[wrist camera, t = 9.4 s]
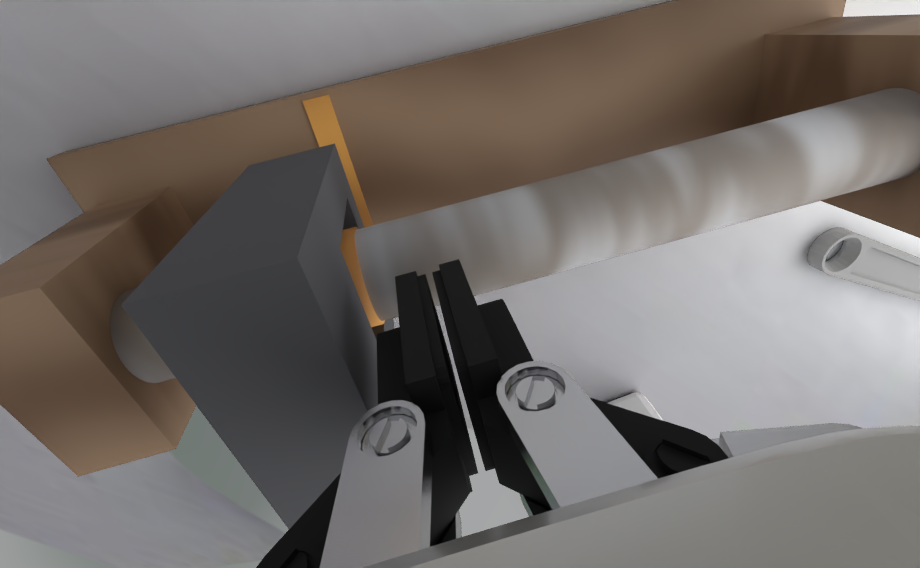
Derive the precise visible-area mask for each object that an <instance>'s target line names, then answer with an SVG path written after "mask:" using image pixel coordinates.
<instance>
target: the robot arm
mask: <svg viewBox="0 0 920 568" xmlns="http://www.w3.org/2000/svg"><path fill="white" fill-rule="evenodd" d="M439 268H440V270H438V271H435V272H432V275H433V278H434V282H435V286H436V290H437V294H438V298H439V302H440V306H441V310H442V314H443V318H444V322H445V326H446V329H447V333H448V337H449V341H450V345H451V349H452V353H453V357H454V361H455V365H456V368H457V372H458V376H459V379H460V383H461V386H462V390H463V393H464V397H465V400H466V404H467V407H468V411H469V414H470V418H471V421H472V425H473V428H474V432H475V436H476V439H477V442H478V446H479V449H480V453H481V456H482V460H483V464H484V467H485V470H486V471H487V470H490V469H494V468H495V470H496V473H497V477H498V480H499V483H500V484H502V485H504V486H506V487H508V488H510V489H512V490H514V491H516V492H518V493H520V497H521V500H522V503H523V505H524V507H525V509H526V511H527V513H528V515H529V517H527V518H524V519H521V520H517V521H514V522H511V523H507V524H504V525H501V526H498V527H494V528H491V529H487V530H484V531H481V532H478V533H474V534H471V535H468V536H464V537H462V535H461V534H462V532H461V518H460V513H459V509H460V507H461V505H462V504H463V502H464V501H465V499H466V498H467V496H468V494H469V493H470V492H472V487H471V483H470V478H469V476H470V475H473V474H477V473H478V471H477V467H476V463H475V458H474V454H473V450H472V446H471V442H470V438H469V434H468V430H467V426H466V421H465V417H464V413H463V409H462V405H461V401H460V397H459V393H458V389H457V384H456V380H455V376H454V372H453V368H452V364H451V360H450V357H449V353H448V350H447V346H446V343H445V339H444V336H443V332H442V329H441V326H440V322H439V319H438V315H437V312H436V308H435V305H434V302H433V298H432V295H431V291H430V288H429V284H428V281H427V278H426V274H424V275H420V276H418V275H417V273H416V271H413V272H410V273H406V274H402V275H399V276H395V284H396V294H397V304H398V314H399V325H400V327H399V328H395V329H391V330H388V331H384V332H381V333H378V334H377V387H378V405H377V406H375V407H373V408H371V409H370V410H368V411H367V412H366V413H365V414H364V415H362V416H361V417H360V418H359V420H358V421H357V422H356V424H355V425H354V426H353V429H352V431H351V434H350V436H349V441H348V445H347V450H346V454H345V458H344V463H343V467H342V472H341V473H340V474H339V475H338V476H337V477H336V478H335V480H334V481H333V482H332V483H331V484H330V485H329V486H328V487H327V488H326V489H325V491H324V492H323V493H322V494H321V495H320V496H319V497H318V498H317V499H316V500H315V502H314V503H313V504H312V505H311V506H310V507H309V508H308V509H307V510H306V512H305V513H304V514H303V515H302V516H301V517H300V518H299V519H298V520H297V521H296V523H295V524H294V525H293V526H292V527H291V528H290V529H289V530H288V531H287V532H286V534H285V535H284V536H283V537H282V538H281V539H280V540H279V541H278V542H277V543H276V545H275V546H274V547H273V548H272V549H271V550H270V551H269V552H268V553H267V554H266V556H265V557H264V558H263V559H262V561H261V562H260V563H259V565H258V566H257V567H256V568H920V426H914V425H906V426H889V427H872V428H861V427H857V426H854V425H850V424H837V423H828V424H815V425H803V426H790V427H777V428H764V429H751V430H739V431H726V432H720V438H715V439H709V438H708V437H707V436H705V435H702V434H700V433H698V432H696V431H693V430H691V429H688V428H684V427H681V426H678V425H675V424H672V423H669V422H665V421H662V420H659V419H656V418H653V417H649V416H646V415H643V414H640V413H637V412H634V411H630V410H627V409H624V408H621V407H618V406H615V405H611V404H608V403H605V402H602V401H599V400H596V399H592V398H589V397H588V395H587V394H586V393H585V392H584V391H583V390H582V388H581V387H580V386H579V385H578V384H577V383H576V381H575V380H574V379H573V378H572V377H571V375H570V374H569V373H568V372H566V371H565V370H564V369H563V368H562V367H560V366H558V365H555V364H553V363H550V362H544V361H533V359H532V357H531V355H530V353H529V351H528V349H527V347H526V345H525V343H524V341H523V339H522V337H521V335H520V333H519V331H518V329H517V326H516V324H515V322H514V320H513V318H512V316H511V314H510V312H509V310H508V308H507V306H506V304H505V302H504V301H503V299H500V300H496V301H492V302H489V303H485V304H482V305H478V306H477V304H476V301H475V298H474V296H473V293H472V291H471V288H470V286H469V283H468V281H467V278H466V275H465V273H464V270H463V268H462V265H461V263H460V260H459V259H457V260H454V261H450V262H446V263H443V264H439Z"/></svg>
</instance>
